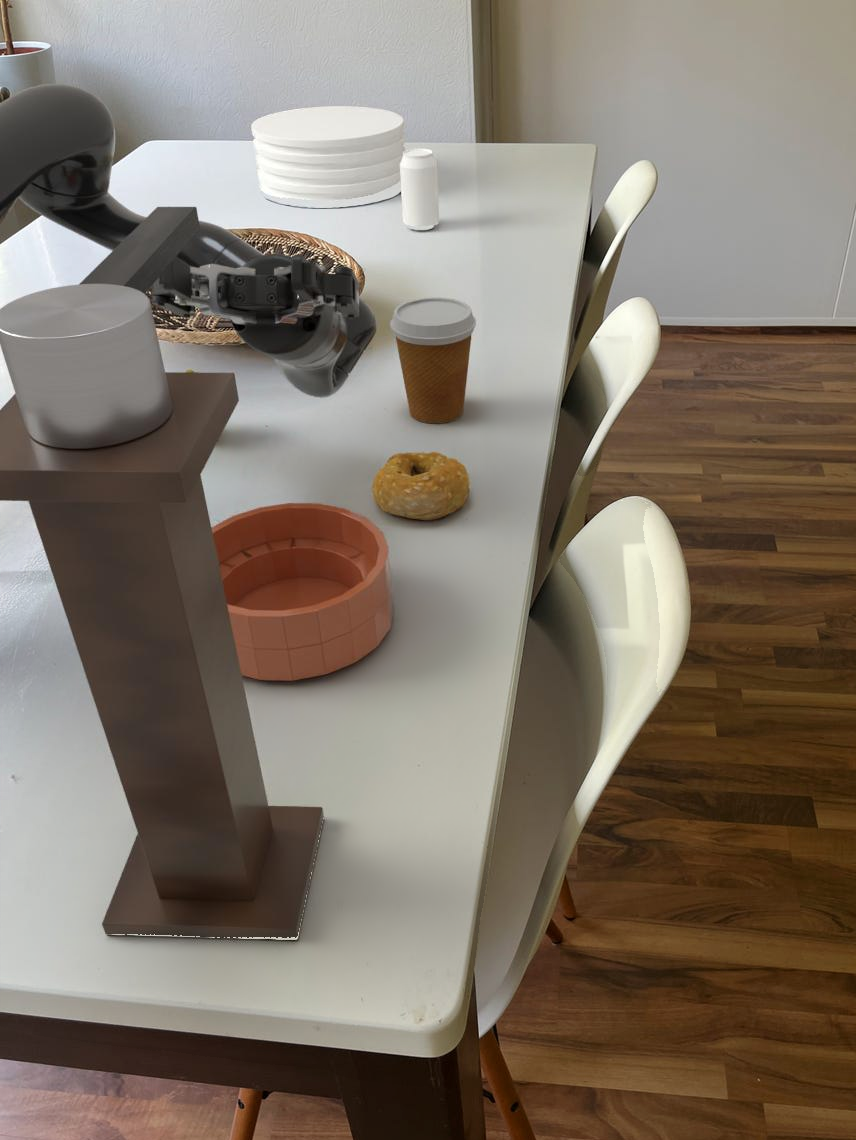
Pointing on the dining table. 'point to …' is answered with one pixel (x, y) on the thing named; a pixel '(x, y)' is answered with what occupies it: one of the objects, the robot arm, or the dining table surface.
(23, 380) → the metal mallet
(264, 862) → the stand
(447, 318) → the disposable coffee cup
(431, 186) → the beverage can
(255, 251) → the robot arm
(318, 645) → the bowl
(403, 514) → the bagel
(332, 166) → the plate stack
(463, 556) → the dining table surface
